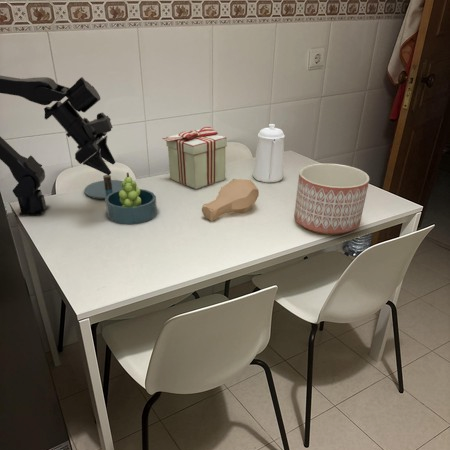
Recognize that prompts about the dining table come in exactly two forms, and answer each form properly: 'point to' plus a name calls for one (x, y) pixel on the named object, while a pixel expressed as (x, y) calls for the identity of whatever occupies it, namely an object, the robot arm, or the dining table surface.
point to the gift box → (197, 157)
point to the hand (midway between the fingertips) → (112, 168)
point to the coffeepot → (269, 155)
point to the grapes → (129, 193)
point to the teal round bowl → (131, 208)
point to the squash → (232, 199)
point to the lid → (103, 187)
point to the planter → (330, 198)
